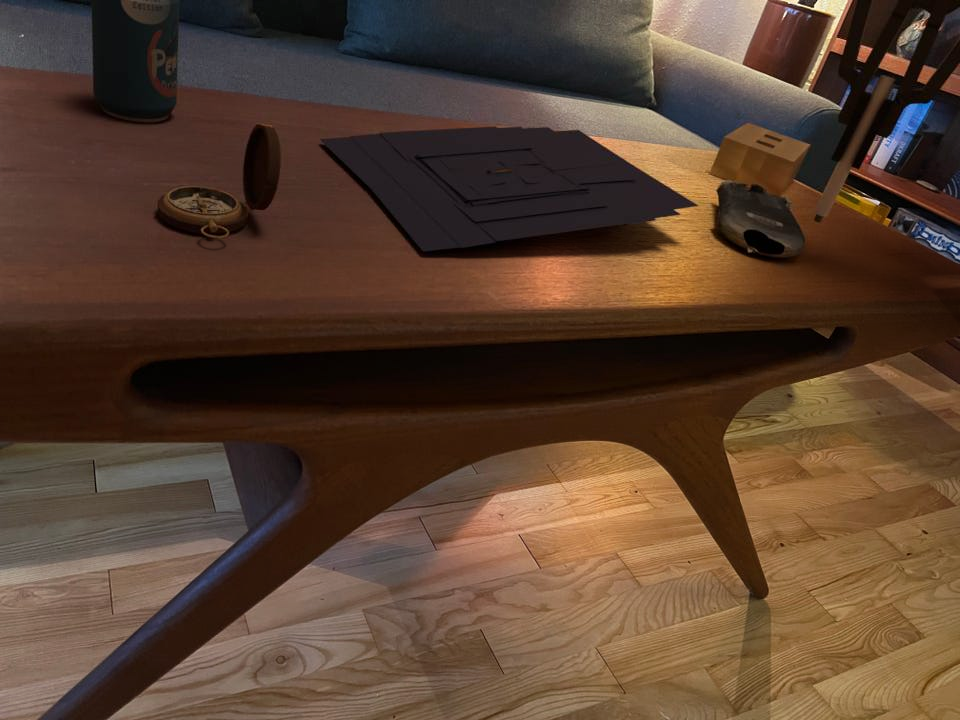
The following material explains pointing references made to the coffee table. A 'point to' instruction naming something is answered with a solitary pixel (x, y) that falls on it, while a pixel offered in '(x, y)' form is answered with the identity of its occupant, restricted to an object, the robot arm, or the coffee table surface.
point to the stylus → (853, 147)
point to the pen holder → (759, 158)
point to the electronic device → (758, 220)
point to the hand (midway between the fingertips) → (846, 161)
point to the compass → (219, 208)
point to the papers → (502, 183)
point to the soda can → (135, 57)
